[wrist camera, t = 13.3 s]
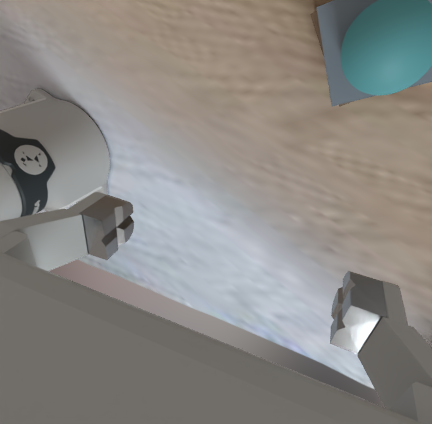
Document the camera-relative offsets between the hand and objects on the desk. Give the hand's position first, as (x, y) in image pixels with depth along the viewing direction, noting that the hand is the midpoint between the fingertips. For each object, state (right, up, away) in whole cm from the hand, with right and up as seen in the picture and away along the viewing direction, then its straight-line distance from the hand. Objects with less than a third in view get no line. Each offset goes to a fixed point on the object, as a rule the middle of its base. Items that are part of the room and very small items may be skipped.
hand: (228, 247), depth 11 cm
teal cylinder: (+11, +13, +10) cm, 20 cm away
